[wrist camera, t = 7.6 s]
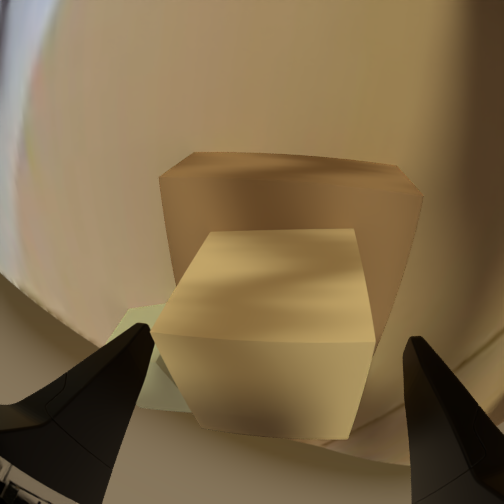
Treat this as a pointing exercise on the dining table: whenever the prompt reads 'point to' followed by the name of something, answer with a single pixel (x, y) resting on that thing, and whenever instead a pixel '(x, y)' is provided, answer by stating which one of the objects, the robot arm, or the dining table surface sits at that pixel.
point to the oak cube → (271, 333)
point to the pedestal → (296, 209)
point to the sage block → (153, 366)
